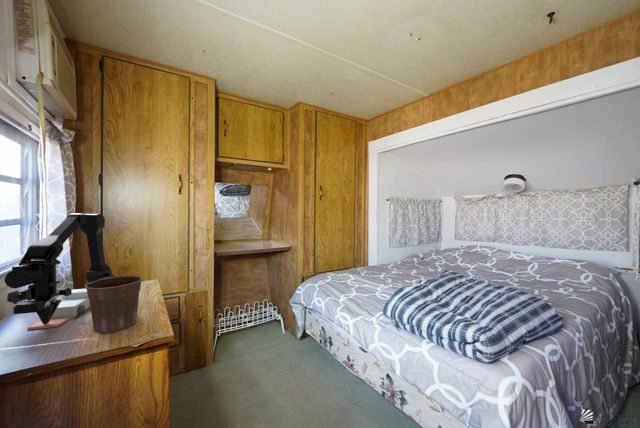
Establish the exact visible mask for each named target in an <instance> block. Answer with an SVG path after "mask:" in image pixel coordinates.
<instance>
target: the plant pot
mask: <svg viewBox="0 0 640 428" xmlns="http://www.w3.org/2000/svg"><path fill="white" fill-rule="evenodd" d="M142 281H143V277H142V276H139V275H122V276H118V277H112V278H106V279H101V280H97V281H93V282H90V283H88V282H87V284H85V285H84V289H87V294H88V298H89V300H90V307H89V308H90V311H91V312H90V313H91V321H92V327H93V329H92V330H93V331H94V333H98V334H109V333H110V334H111V333H115V332H119V331H121V330H123V329H128V328H130V327H132V326H135V324H136V323H137V318H138V309H139V308H138V307H139V306H138V305H139V295H140V290H141V286H142Z"/></svg>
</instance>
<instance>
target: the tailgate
mask: <svg viewBox="0 0 640 428" xmlns="http://www.w3.org/2000/svg"><path fill="white" fill-rule="evenodd" d="M74 318H75V317H74V316H73V317H62V318H52V319H50V321H49V323H48V324H43V323H42V321H41V320H40V321H37V322H36V323H34V324H31V325H30V326H27V328H26V329H27V331H28V330H37V329H39V330H40V329H46V328H57V327H60V326H62V325H64V324H66V323H67V322H68V321H70V320H71V319H74Z"/></svg>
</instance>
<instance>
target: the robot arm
mask: <svg viewBox="0 0 640 428" xmlns="http://www.w3.org/2000/svg"><path fill="white" fill-rule="evenodd" d="M105 223H106V217H104V215H102V214H101V213H79V212H78V213H74V212H73V213H69V214H67V215H66V217H65V219H64V220H63V221H62V222H61V223H60V224H58V226H57V227H56V228H55V229H54V230H53V231H51V233H50V234H49V235H47V236H46V237H44V238H41V239H39V240H37V241H35V242H34V243H32V244H31V245H30V246H29V247H28V248H27V250H26V252H25V253H24V255H23V256H22V258H21V260H20V261H19V263H18V265H14V266H12V267H11V270H10V271H8V272H7V273H6V275H5V277H4V283H5V285H6V286H7V287H8V288H11V289H20V288H23V287H26V286H28V287H27V289H24V290H20V291H19V290H14V291H11V292H8V293H7V296H6V298H7V299H6V302H8V303H10V304H11V303H12V304H13V305H15V306H14V307H13V308H12V314H13V315H21V314H22V315H23V314H30V313H31V314H33V313H36V314H37V316H38V317H39V320H40V321H42V323H43V324H48V323H49V321H50V319H51V317H52V316H53V314H54V312H55V310H56V309H57V307H58V305H59V304H60V302H61V301H62V299H58V297H59V296H62V295H65V296H69V295H71V294H72V290H73V289H72V288H71V287H69V286H68V287H67V286H66V287H57V284H60V282H61V281H60V279H57V265H60V264H61V263H62V261H60V260H58V258H59V257H60V255H61V253H62V252H63V250H64V244H65V242H66V241H68V239H69V238H70V237H71V236H72V234H74V233H75V231H76V230H77V229H79V228H80V231H82V232H83V234H85V236H86V243H87V250H88V255H89V261H90V262H89V263H90V266H89V269H88V270H87V271H86V272H85V275H86V281H87V284H88V283H90V282H93V281H97V280H99V279H100V278H103V277H109V276H115V275H114V274H113V273H112V270H111V269H112V268H111V267H110V266H109V265H108V264H107V263H106V258H105V252H104V244H103V239H102V231H103V230H104V228H106V227H105V226H106V225H105ZM25 300H26V301H25ZM22 301H23V302H22Z"/></svg>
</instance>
